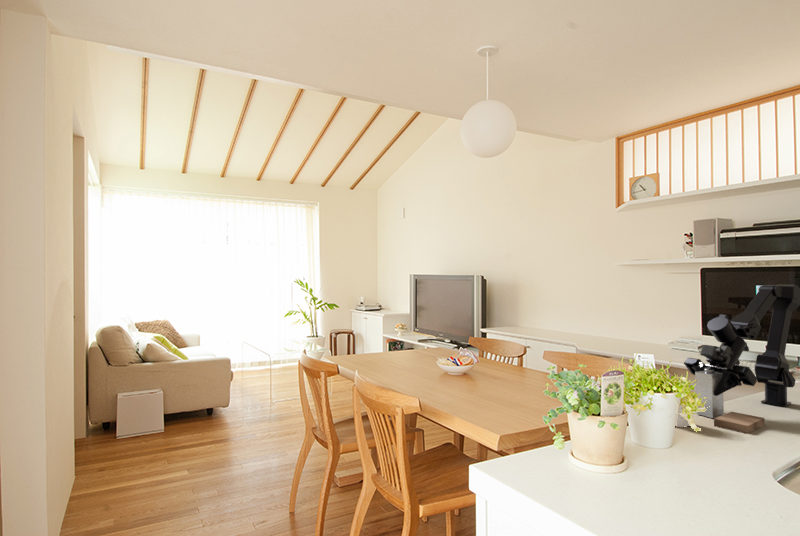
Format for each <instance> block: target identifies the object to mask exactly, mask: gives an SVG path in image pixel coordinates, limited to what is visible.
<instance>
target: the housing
mask: <svg viewBox="0 0 800 536" xmlns="http://www.w3.org/2000/svg"><path fill="white" fill-rule="evenodd" d="M722 374H723V373H718V372H714V369H709V368H705V369H704V371H698V372H695V375H694V378H695V379H694V380H699V381H698V382H697V383H696V385H695V394H696V393H701V395H700V397H709V398H708V399H707V401H706V403H705V408H706V409H707V410H706V411H705V412H697V413H696V412H695V414H696V415H699V416H703V417H706V418H710V419H715V418H717V417H720V416H722V415H724V414H725V413H724V412H725V410H724V407H725V406H724V402H725V401H724V392H723V393H722V394H720V395H718V396H715V394H714V392H715V390H716V388H717V386H718V384H719V382H720V381H721V379H722ZM702 401H703V402H705V399H704V398H703V399H702ZM709 406H710V407H709ZM707 407H708V408H707Z"/></svg>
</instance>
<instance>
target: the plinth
mask: <svg viewBox="0 0 800 536" xmlns="http://www.w3.org/2000/svg"><path fill="white" fill-rule="evenodd" d="M765 423H766V422H765V417H762V416H756V415H751V414H745V413H741V412H737V411H736V412H735V411H729V412H727V413H724V415H722V416H720V417H716V418H713V427H716V426H717V427H716V428H720V427H721V429H726V430H729V429H730V430H731V431H735V432H738V433H739V432H740V433H742V434H743V433H744V434H750V433H752V432H754V431H756V430H758V429H760V428H762V427H764V426H765V425H766V424H765Z"/></svg>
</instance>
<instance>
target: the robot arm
mask: <svg viewBox="0 0 800 536" xmlns="http://www.w3.org/2000/svg"><path fill="white" fill-rule="evenodd" d="M771 307H772V315H771V318H770V319H771V320H770V326H769V331H768V336H767V342H766V346H765V351H764V352H763V353H762V354H758V355H756V361H755V364H754V372H753V370H752V369H751V368H750V366H747V365H740V363H741V361H740V360H739V359H740V357H741V356H742V354H743V352H749V351H750V347H749V346H748V343H747V341H745V340H744V339H747V340H754V339H756V338H757V337H758V335H759V334H760V331H761V329H762V326H761V324H760V323H761V321H762V319H763V317H764V316H765V315H766V313H767V312H768V310H769V309H770V308H771ZM799 307H800V286H799V285H797V284H763V285H760V286H759V288H758V291H757V293H756V294H755V296H754V297H753V298H752V299H751V301H750V303H749V304H748V305H747V306H746V308H745V309H744V311H742V312H741V313H739V314H736V315H734V316H733V317H732V318H731V319H730V318H729V316H728V315H727V314H719V315H718V316H717V317H714V318H712V319H710V320H709V321H707V325H706V327H707V329H708V331H709V332H710V333H711V335H712V336H713V337H714V339H715V340H716V341H717V342H719V343H721V344H720V345H719V346H717V345H710V344H702V347H701V349H700V353H699V354H700V356H701V357H705V358H706V359H705V361H706V363H708V364H705V363H704V362H703V361H702V360H701V359H700V358H695V357H694V358H693V357H687V358H686V359H685V361H683V365H684V366H685V367H686V368H687V370H688V371H689V372H690V373H691V375H693V376H695V372H698V371H704V369H705V368H709V369H714V372H718V373H723V374H722V379H721V381H720V382H719V384H718V386H717V388H716V390H715V392H714V394H715V396H718V395H720V394H722V393H723V394H724V393H725V392H727V391H729V390H731V389H733V388H736V387H737V386H739V387H741V386H743V385H744V386H745V385H746V386H749V387H754V386H755V385H756V383H758V384H759V383H761V384H764V399H763V400H761V401H760V403H761V404H766V405H773V406H777V407H778V406H779V407H785V408H786V407H787V406H790V405H792V402H791V401H788V388H794V387H795V385H796V378H795V377H794V375H793V374H792V372H791V371H790V363H789V361H788V360H787V357H786V356H785V354H786V349H787V348H786V347H787V344H788V343H787V342H788V337H789V331H790V326H791V320H792V314H793V312H794V311H795V310H797V309H798V308H799Z"/></svg>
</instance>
